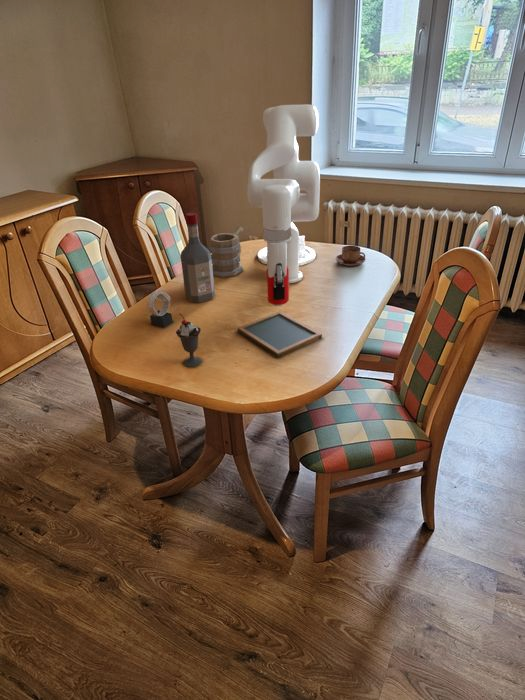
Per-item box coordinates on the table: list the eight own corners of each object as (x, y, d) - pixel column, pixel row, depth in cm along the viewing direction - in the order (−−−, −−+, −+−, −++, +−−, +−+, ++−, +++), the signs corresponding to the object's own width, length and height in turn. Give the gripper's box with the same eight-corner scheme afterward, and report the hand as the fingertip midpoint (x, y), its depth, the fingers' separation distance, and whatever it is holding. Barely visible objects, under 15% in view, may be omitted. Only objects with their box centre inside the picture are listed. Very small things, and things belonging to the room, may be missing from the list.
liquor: (217, 298, 165) (209, 214, 149) (194, 305, 161) (183, 219, 145) (206, 289, 171) (197, 208, 155) (183, 295, 167) (172, 213, 151)
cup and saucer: (365, 258, 193) (366, 244, 190) (364, 269, 183) (365, 254, 180) (337, 257, 196) (337, 243, 192) (334, 267, 186) (335, 252, 183)
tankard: (229, 279, 179) (227, 241, 171) (204, 273, 185) (200, 237, 177) (257, 262, 193) (255, 227, 185) (233, 257, 199) (230, 223, 191)
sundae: (181, 356, 132) (174, 310, 124) (204, 355, 132) (199, 308, 124) (179, 369, 126) (172, 321, 118) (204, 367, 127) (198, 320, 119)
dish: (275, 271, 184) (275, 244, 178) (248, 253, 203) (247, 228, 197) (326, 259, 194) (327, 233, 188) (296, 243, 213) (296, 218, 207)
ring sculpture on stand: (176, 319, 152) (172, 288, 146) (160, 330, 146) (155, 298, 140) (163, 316, 154) (158, 285, 148) (147, 326, 148) (141, 295, 143)
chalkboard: (237, 332, 143) (237, 327, 142) (279, 315, 152) (279, 311, 151) (278, 358, 130) (278, 353, 129) (321, 338, 138) (321, 333, 137)
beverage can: (268, 298, 138) (267, 260, 132) (289, 298, 137) (289, 260, 131) (266, 307, 133) (265, 268, 126) (288, 307, 132) (288, 268, 126)
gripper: (261, 224, 131) (263, 283, 141) (264, 244, 117) (267, 308, 126) (288, 223, 131) (288, 282, 141) (294, 243, 117) (294, 306, 126)
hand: (278, 293), depth 133 cm, fingers closed on beverage can, 5 cm apart
